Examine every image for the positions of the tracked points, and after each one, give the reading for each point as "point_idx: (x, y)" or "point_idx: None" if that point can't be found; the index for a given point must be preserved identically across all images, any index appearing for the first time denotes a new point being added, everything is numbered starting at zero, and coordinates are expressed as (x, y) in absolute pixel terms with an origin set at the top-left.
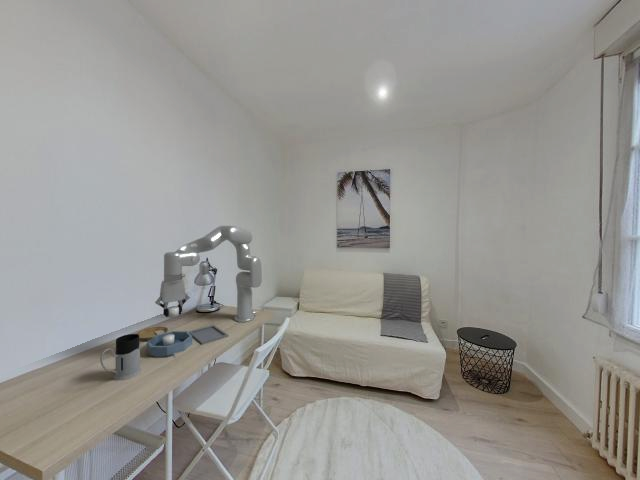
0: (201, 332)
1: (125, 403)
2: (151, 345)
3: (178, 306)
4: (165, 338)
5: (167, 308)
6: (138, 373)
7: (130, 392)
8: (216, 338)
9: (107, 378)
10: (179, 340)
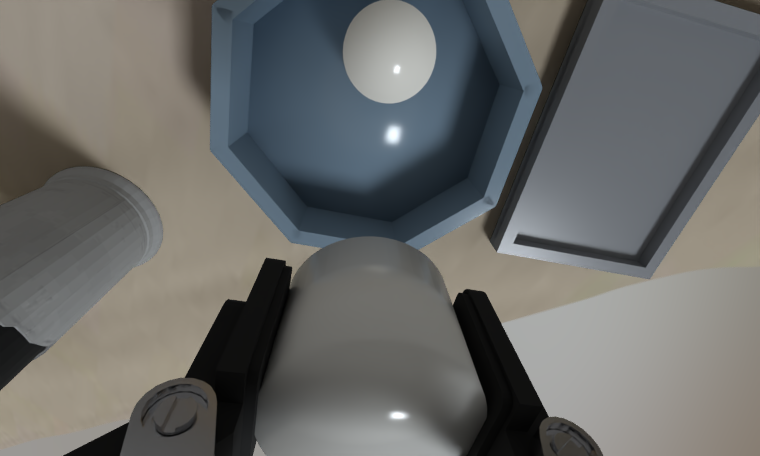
0: (650, 62)
1: (87, 393)
2: (221, 128)
3: (480, 437)
4: (350, 79)
5: (249, 439)
6: (144, 261)
7: (105, 355)
8: (579, 266)
9: (9, 186)
10: (465, 61)
